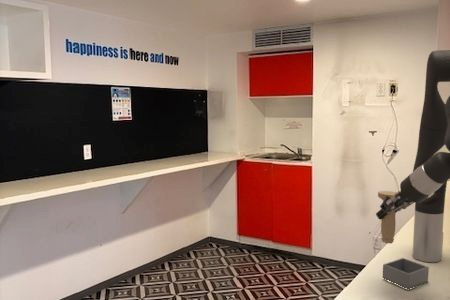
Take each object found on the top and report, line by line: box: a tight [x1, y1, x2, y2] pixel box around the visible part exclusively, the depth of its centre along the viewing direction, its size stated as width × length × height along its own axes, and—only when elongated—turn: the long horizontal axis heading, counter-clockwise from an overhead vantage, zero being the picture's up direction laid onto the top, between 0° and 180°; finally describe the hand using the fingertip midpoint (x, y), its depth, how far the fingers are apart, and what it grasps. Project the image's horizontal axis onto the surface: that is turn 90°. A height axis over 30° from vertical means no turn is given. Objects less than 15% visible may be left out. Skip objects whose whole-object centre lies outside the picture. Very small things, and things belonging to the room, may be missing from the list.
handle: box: [377, 190, 398, 244], centre depth 126 cm, size 5×6×15 cm
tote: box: [382, 257, 430, 289], centre depth 132 cm, size 10×9×5 cm
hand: (382, 215), depth 127 cm, fingers closed on handle, 3 cm apart
